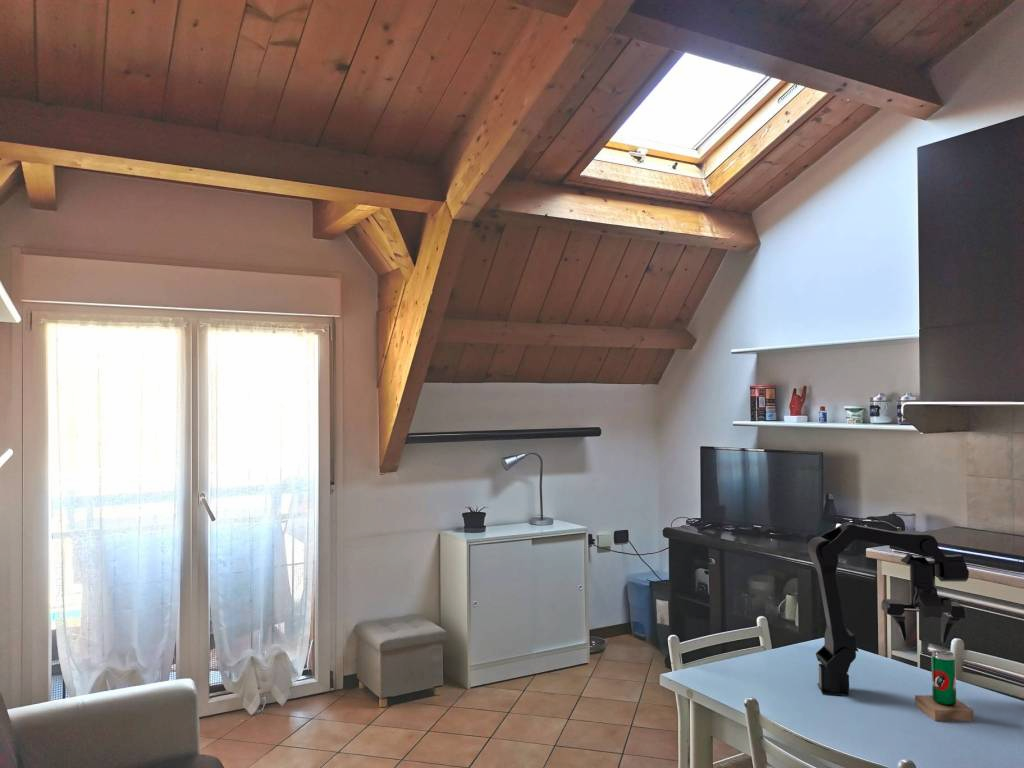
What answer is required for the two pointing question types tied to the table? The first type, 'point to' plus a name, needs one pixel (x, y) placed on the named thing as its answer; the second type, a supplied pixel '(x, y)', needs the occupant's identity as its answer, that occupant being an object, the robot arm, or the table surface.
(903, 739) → the table surface
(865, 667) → the table surface
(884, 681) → the table surface
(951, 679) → the soda can
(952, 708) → the tan block
